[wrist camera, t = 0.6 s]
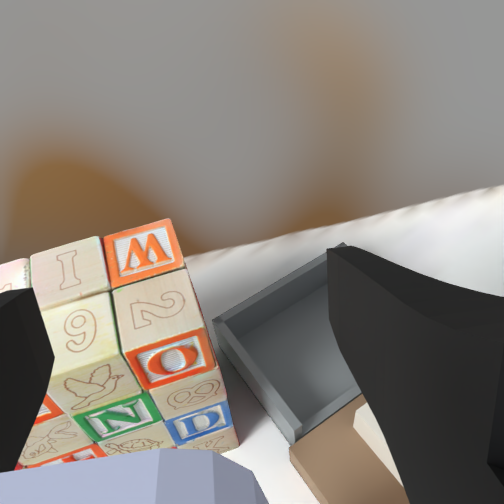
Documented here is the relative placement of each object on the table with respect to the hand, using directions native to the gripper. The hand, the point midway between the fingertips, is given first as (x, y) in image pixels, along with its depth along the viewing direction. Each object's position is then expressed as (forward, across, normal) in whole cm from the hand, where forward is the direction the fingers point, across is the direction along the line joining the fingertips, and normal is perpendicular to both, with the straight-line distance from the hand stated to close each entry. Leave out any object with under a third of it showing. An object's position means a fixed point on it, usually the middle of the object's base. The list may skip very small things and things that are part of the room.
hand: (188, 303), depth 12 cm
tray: (+14, -6, +12) cm, 19 cm away
